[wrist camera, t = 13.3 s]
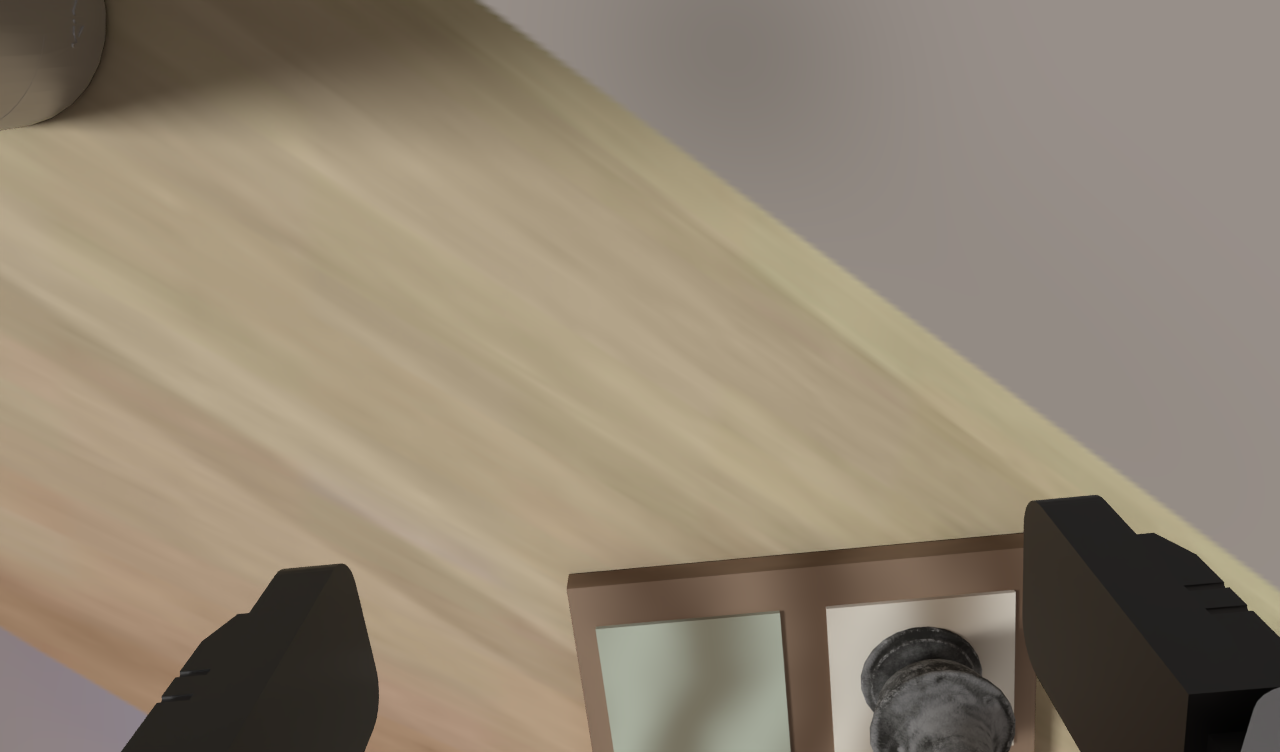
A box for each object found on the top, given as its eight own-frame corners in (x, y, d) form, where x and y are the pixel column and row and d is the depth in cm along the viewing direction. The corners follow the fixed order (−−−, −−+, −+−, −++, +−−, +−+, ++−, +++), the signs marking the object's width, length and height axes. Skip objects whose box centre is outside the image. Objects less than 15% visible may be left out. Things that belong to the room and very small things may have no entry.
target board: (603, 791, 48) (601, 813, 47) (569, 574, 44) (566, 591, 43) (1024, 757, 47) (1035, 779, 46) (1028, 532, 43) (1040, 548, 42)
